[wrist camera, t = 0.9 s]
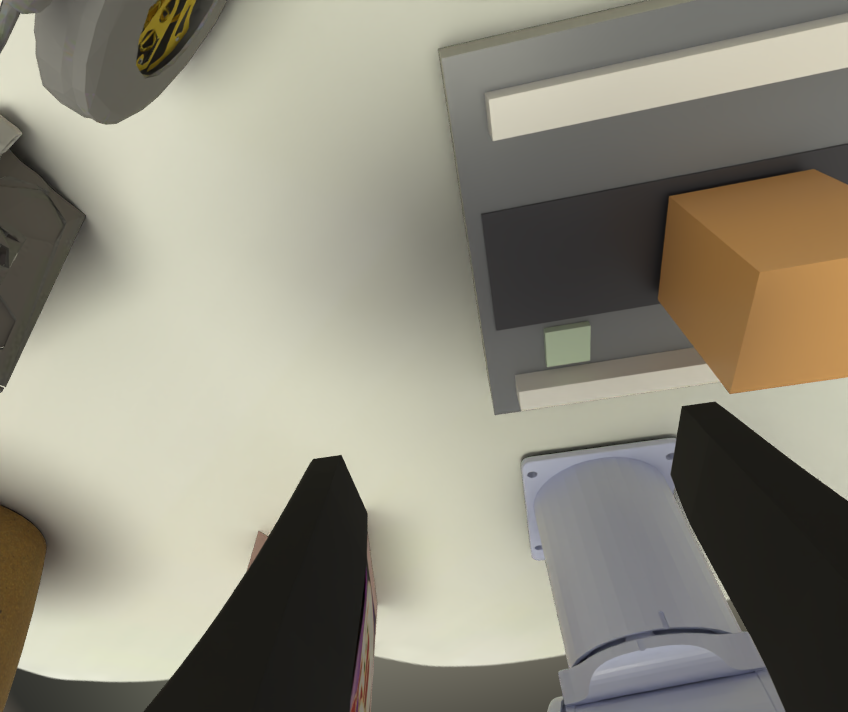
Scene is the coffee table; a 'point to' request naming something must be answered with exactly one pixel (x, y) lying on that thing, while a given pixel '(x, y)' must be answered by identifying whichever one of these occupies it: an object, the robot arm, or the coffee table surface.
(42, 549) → the plant pot
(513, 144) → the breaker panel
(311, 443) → the coffee table surface
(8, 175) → the electrical switch
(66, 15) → the pocket watch
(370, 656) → the greeting card
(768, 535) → the robot arm
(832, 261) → the block
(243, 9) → the coffee table surface
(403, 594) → the coffee table surface
